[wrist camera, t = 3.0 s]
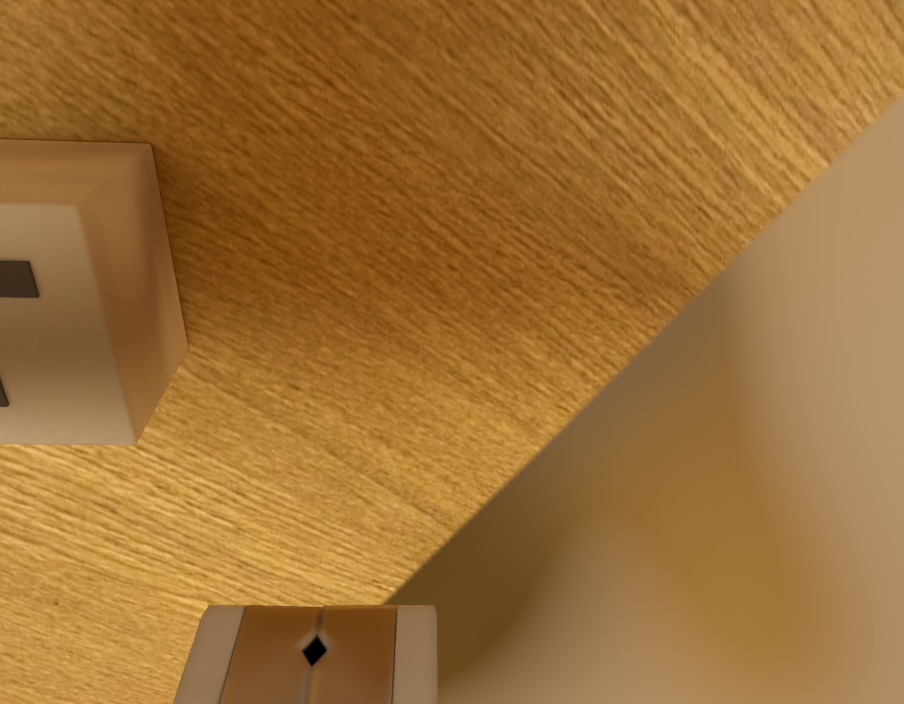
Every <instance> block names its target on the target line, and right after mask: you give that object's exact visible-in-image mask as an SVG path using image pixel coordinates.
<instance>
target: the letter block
mask: <svg viewBox="0 0 904 704" xmlns="http://www.w3.org/2000/svg"><path fill="white" fill-rule="evenodd" d="M187 350H188V343H187V337H186V332H185V326H184V321H183V316H182V310H181V305H180V299H179V294H178V288H177V283H176V277H175V272H174V266H173V261H172V255H171V250H170V245H169V239H168V234H167V228H166V223H165V217H164V212H163V206H162V201H161V195H160V190H159V185H158V179H157V174H156V168H155V163H154V157H153V152H152V147H151V145H150V144H147V143H116V142H81V141H46V140H11V139H0V444H53V445H135V444H136V443H137V441H138V439H139V438H140V436H141V434H142V432H143V430H144V428H145V427H146V425H147V423H148V421H149V419H150V418H151V416H152V414H153V412H154V410H155V408H156V407H157V405H158V403H159V401H160V399H161V398H162V396H163V394H164V392H165V390H166V389H167V387H168V385H169V383H170V381H171V379H172V378H173V376H174V374H175V372H176V370H177V369H178V367H179V365H180V363H181V361H182V359H183V358H184V356H185V354H186V352H187Z"/></svg>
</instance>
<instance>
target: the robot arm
mask: <svg viewBox="0 0 904 704" xmlns="http://www.w3.org/2000/svg"><path fill="white" fill-rule="evenodd" d="M436 622H437V618H436V608H435V606H398V609H397V605H337V606H323V607H298V606H264V605H209V606H208V607H207V609H206V611H205V612H204V614H203V615H202V617H201V620H200V623H199V626H198V629H197V632H196V635H195V638H194V641H193V644H192V647H191V650H190V653H189V656H188V659H187V662H186V665H185V668H184V671H183V674H182V677H181V680H180V683H179V686H178V689H177V692H176V695H175V698H174V701H173V704H438V702H437V624H436Z"/></svg>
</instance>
